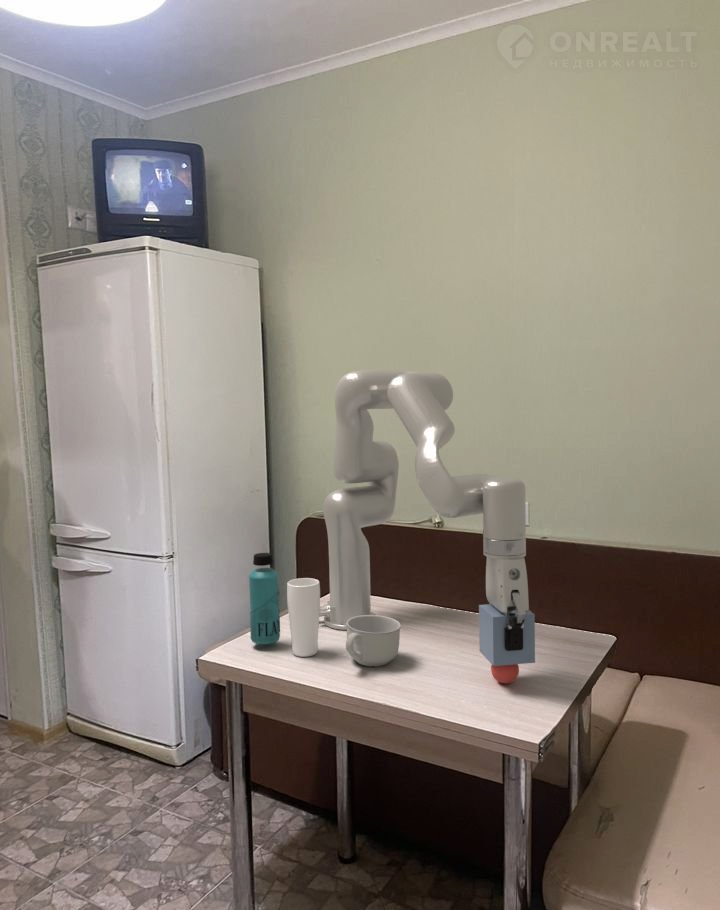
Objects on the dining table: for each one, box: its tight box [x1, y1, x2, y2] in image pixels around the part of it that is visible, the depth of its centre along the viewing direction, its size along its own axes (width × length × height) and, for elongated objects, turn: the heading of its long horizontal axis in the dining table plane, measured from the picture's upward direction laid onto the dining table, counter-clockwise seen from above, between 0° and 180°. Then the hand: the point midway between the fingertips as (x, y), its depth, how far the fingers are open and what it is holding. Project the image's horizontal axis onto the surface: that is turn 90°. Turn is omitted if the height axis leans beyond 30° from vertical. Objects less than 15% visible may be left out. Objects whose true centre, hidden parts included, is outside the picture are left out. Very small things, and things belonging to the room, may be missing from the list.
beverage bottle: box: [248, 552, 281, 645], centre depth 149 cm, size 6×7×20 cm
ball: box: [490, 664, 520, 685], centre depth 128 cm, size 5×5×5 cm
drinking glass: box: [286, 577, 321, 658], centre depth 144 cm, size 7×7×15 cm
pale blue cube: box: [478, 603, 536, 666], centre depth 127 cm, size 8×8×9 cm
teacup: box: [345, 614, 402, 667], centre depth 138 cm, size 14×11×8 cm
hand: (505, 641), depth 127 cm, fingers closed on pale blue cube, 7 cm apart
